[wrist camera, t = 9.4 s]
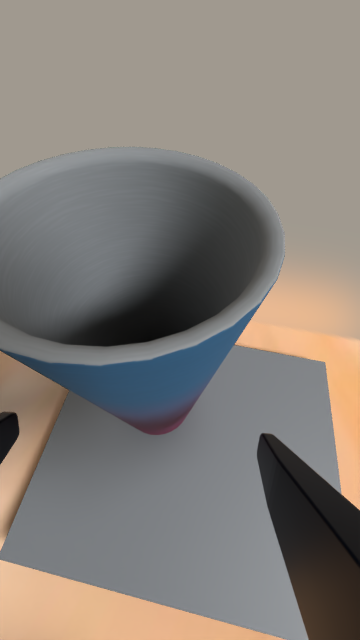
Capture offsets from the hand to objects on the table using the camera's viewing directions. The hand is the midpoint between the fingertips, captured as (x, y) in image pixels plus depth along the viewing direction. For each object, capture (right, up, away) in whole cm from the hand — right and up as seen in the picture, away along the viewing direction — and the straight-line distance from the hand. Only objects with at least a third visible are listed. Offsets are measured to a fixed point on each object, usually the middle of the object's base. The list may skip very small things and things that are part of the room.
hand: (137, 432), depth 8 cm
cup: (0, -2, +9) cm, 9 cm away
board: (+2, -5, +9) cm, 11 cm away
